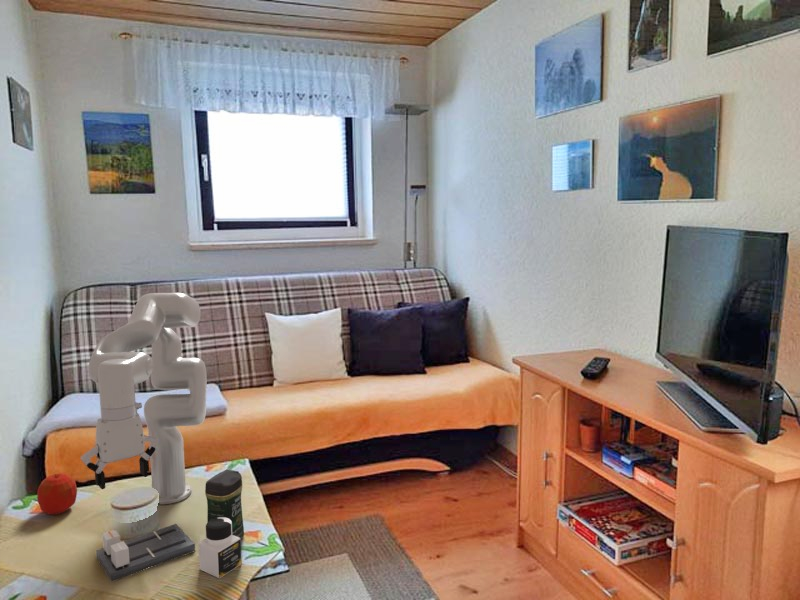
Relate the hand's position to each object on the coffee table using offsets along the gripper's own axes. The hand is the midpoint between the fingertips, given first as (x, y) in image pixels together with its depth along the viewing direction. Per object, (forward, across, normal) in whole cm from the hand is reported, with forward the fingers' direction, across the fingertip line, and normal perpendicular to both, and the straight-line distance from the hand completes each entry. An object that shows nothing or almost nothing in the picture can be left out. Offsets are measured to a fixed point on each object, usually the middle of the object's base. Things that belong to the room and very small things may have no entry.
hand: (123, 481), depth 143 cm
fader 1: (+20, +2, -6) cm, 21 cm away
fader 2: (+20, +2, +1) cm, 20 cm away
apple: (+22, +5, -43) cm, 48 cm away
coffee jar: (+22, -23, +6) cm, 32 cm away
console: (+22, -5, -3) cm, 23 cm away
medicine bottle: (+22, -16, +15) cm, 32 cm away
